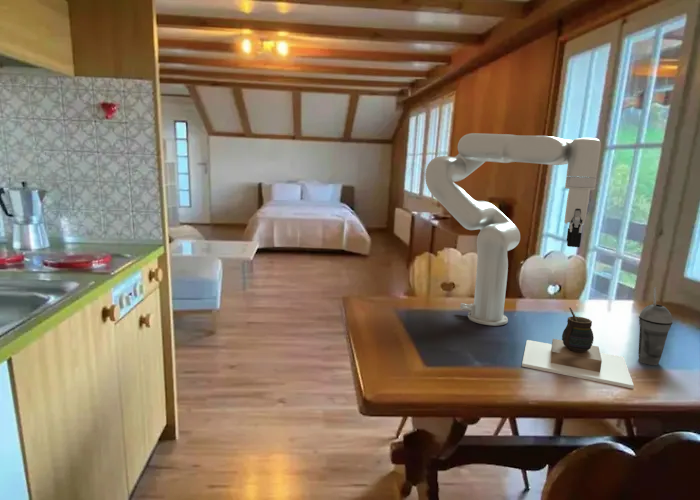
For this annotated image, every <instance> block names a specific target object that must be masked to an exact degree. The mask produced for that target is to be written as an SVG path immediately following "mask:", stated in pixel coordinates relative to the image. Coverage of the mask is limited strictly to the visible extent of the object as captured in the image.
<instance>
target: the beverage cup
mask: <svg viewBox="0 0 700 500" xmlns="http://www.w3.org/2000/svg"><path fill="white" fill-rule="evenodd" d="M638 318H639V320H638V321H639V336H638V337H639V338H638V361H639V362H640V363H642V364H644V365H649V366H659V364H660V360H662V359H661V358H662V354H663V351H664V348H665V344H666V340H667V337H668V334H669V331H670V330H671V327H672V325H673V317H672V313H671V312H670V310H669V309H668V308H667V307H666V306H663V304H662V305H661V304H657V287H653V303H652V304H649V305H646V306H645V307H644V308H643V309H642V310H641V311H640V313H639V316H638Z"/></svg>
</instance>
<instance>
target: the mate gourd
mask: <svg viewBox="0 0 700 500" xmlns="http://www.w3.org/2000/svg"><path fill="white" fill-rule="evenodd" d="M568 309H569V310H570V313H571V315H572V316H568V317H567V321H566V323H567V324H566V326H565V328H564V329H563V331H562V335H561V340H563V344H564V345H565V347H567V348H568V350H571V351H574V352H586V351H588V350H589V349H590V348H591V346H593V343H594V333H593V329H592V324H593V321H592V320H591V319H590V318H587V317H583V316H582V317H581V316H576V315H575V313H574V311H573V310H572V307H568Z"/></svg>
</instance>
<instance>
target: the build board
mask: <svg viewBox="0 0 700 500" xmlns="http://www.w3.org/2000/svg"><path fill="white" fill-rule="evenodd" d="M551 348H552V343H547V342H542V341H535V340H530V339H527V340H526V343H525V348H524V353H523V357H522V362H521V363H522V364H521V367H522V368H523V367H525V368H529V369H534V370H538V371H544V372H549V373H553V374H554V373H555V374H559V375H564V376H567V377H574V378H578V379H583V380H584V379H585V380H587V381H594V382H598V383H603V384H608V385H613V386H619V387H621V388H622V387H624V388H626V389H627V388H628V389H634V386H635V384H634V382H633V379H632V377H631V374H630V370H629V369H628V366H627V363H626V359H625V357H624V356H620V355H614V354H609V353H605V352H604V353H603V352H600V355H601V359H602V363H601V370H600V372H596V371H591V370H585V369H580V368H575V367H570V366H565V365H560V364H554V363H551Z"/></svg>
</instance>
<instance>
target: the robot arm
mask: <svg viewBox="0 0 700 500" xmlns="http://www.w3.org/2000/svg"><path fill="white" fill-rule="evenodd" d="M601 147H602V143H601V141H600V139H599V138H593V137H581V138H580V137H579V138H574V139H573V140H572V139H564V138H561V137H556V136H548V135H525V134H524V135H521V134H520V135H519V134H518V135H516V134H510V133H509V134H507V133H505V134H504V133H503V134H502V133H499V134H498V133H475V132H471V133H466V134H465V135H463V136H462V137H461V138H460V139H459V141H458V143H457V151H458V154H457V155H455V156H449V155H446V156H445V155H442V156H440V155H439V156H437V157H434V158H433V159H431V160H430V161H429V163H428V164H427V166H426V168H425V174H424V175H425V176H424V178H425V184H426V187H427V188H428V190H429V193H430V194H431V195H432V196H433V197H434V198H435V199H436V200H437V202H439V203H440V204H441V205H442V206H443V207H444V209H446V211H447V212H449V214H450V215H451V216H452V217H453V218H454V219H455V221H457V223H459V224H460V226H462V227H463V228H464V229H466V230H469V231H475V230H480V231H479V233H478V235H477V237H476V238H477V239H476V252H477V253H476V254H477V258H476V259H477V260H476V263H477V265H476V277H475V286H474V287H475V288H474V298H473V303H468V304H467V303H465V302H464V303H463V302H460V305H459V309H461V311H465V312H466V311H467V312H468V313H467V318H468V320H469V321H471V322H473V323H477V324H479V325H484V326H494V327H495V326H496V327H497V326H503V325H507V323H508V322H509V319H508V317H507V316H506V315H505V314H504V311H505V301H506V291H507V282H508V272H509V269H508V268H509V259H508V252H509V251H511V250H513V249H515V248H516V247H517V246H519V243H520V241H521V232H520V230H519V228H518V227H517V225H516V224H515V223H513V221H512V220H511V219H510V218H509V217H507V216H506V215H505V214H504V213H503V212H502V211H501V210H500V209H499V208H498V207H497V206H495V205H494V204H493V203H491V202H489V201H487V200H486V201H485V200H476V199H474V198H473V197H472V196H471V195H470V194H468V193H467V192H466V190H464V188H462V187H461V186H459V185H458V184H457V183H455V182H461V181H462V180H465V178H467V177H469V175H471V174H472V173H473V172H475V171H476V170H477V169H478V168H480V167H481V166H482V165H483V164H484V163H486V162H491V163H502V164H509V163H515V162H516V163H527V164H529V163H530V164H539V165H551V166H562V165H563V166H564V165H567V169H566V176H565V185H564V189H568V193H567V200H566V205H565V213H564V214H565V215H564V224H565V225H568V228H567V231H566V232H567V233H566V244H567V245H566V246H567V247H570V248H571V247H572V248H580V247H581V241H582V234H583V233H582V226H583V225H585V222H586V219H587V217H586V216H587V214H588V213H587V212H588V207H589V201H590V194H591V193H590V192H591V190H592V191H594V190H596V185H597V178H598V169H599V163H600V162H599V161H600V155H601ZM568 223H569V224H568Z"/></svg>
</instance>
